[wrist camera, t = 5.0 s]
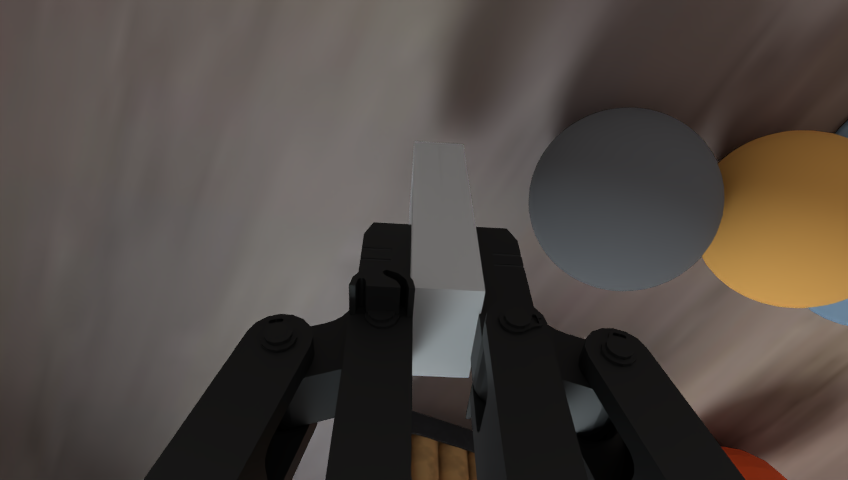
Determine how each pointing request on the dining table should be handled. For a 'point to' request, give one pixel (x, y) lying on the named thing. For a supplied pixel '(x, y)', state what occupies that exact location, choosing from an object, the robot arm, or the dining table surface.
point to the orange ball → (785, 220)
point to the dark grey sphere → (626, 199)
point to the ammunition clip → (441, 450)
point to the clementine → (752, 465)
